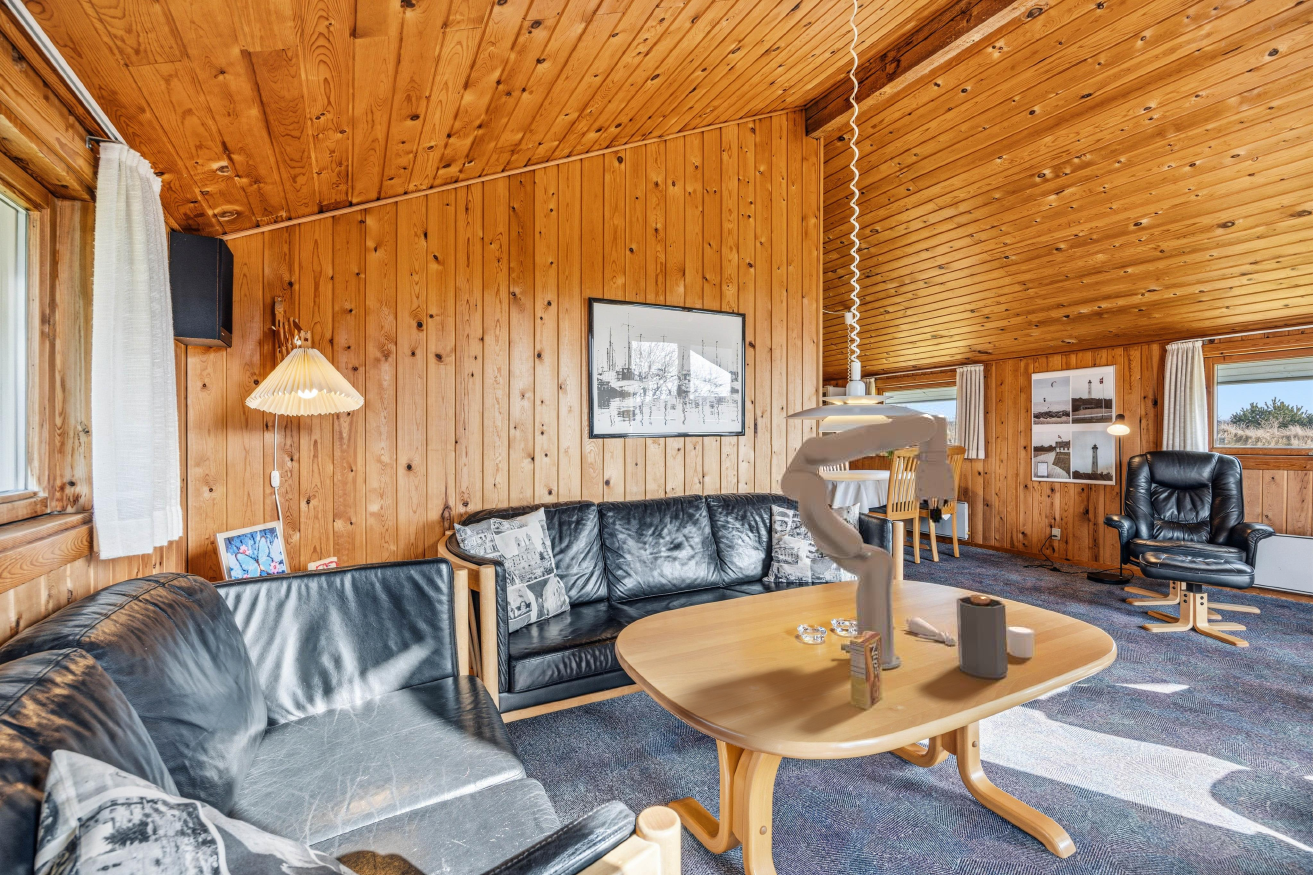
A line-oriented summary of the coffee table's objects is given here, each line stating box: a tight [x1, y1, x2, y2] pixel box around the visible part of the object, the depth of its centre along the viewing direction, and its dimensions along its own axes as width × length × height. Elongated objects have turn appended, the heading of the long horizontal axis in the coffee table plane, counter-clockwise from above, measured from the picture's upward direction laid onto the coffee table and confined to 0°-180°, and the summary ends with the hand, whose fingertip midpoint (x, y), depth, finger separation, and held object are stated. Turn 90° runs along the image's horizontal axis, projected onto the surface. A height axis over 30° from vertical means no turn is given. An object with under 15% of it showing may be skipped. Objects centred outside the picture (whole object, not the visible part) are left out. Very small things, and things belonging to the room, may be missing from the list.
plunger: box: [970, 594, 990, 607], centre depth 153 cm, size 8×8×17 cm
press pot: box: [956, 595, 1009, 680], centre depth 155 cm, size 11×14×18 cm
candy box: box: [849, 631, 884, 711], centre depth 137 cm, size 9×4×15 cm, turn 137°
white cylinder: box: [1006, 625, 1035, 659], centre depth 164 cm, size 7×7×7 cm
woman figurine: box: [905, 617, 957, 646], centre depth 180 cm, size 12×4×18 cm
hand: (935, 522), depth 167 cm, fingers closed
